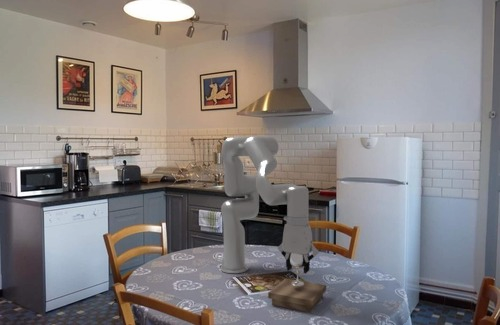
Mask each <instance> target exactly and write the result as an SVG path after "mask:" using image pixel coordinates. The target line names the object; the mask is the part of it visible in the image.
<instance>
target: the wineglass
mask: <svg viewBox="0 0 500 325" xmlns="http://www.w3.org/2000/svg"><path fill="white" fill-rule="evenodd" d="M304 262H305V259H304V256H303V255H301V254H293V253H290V264H291V266H292V268H294V269H296V271H295V272H296V280H297V281H294V282H292V283H291V284H292V285H295V286H302V285H304V283H303V282H300V281H301V280H299V273H300V269H302V268H304Z"/></svg>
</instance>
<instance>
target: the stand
mask: <svg viewBox="0 0 500 325" xmlns="http://www.w3.org/2000/svg"><path fill="white" fill-rule="evenodd" d="M294 281H297V279H293V278H292V279H291V278H284V279H283V280H282V281H281V282H280V283H278V284H277V285H275V286H273V288H272V289H271V290H270V291H268V292H267V294H268V296H267V299H269V300H270V299H271V305H272V306H276V307H278V306H279V307H281V308H282V307H283V308H288V309H293V310H297V311H302V312H308V313H312V311H313V310H314V309H315V307H316V306H317V305H318V304H319V303H320V301H322V299H323V296H324V294H325V292H326V291H327V285H326V284H321V283H316V282H309V281H303V280H299V281H300V282H303V283H304V285H302V286H295V285H292V284H291V283H292V282H294Z"/></svg>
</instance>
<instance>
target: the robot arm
mask: <svg viewBox="0 0 500 325" xmlns="http://www.w3.org/2000/svg"><path fill="white" fill-rule="evenodd" d="M279 147H280V146H279V143H278V141H277V139H276V138H275V137H273V136H272V135H271V136H269V135H268V136H267V135H261V136H260V135H254V136H231V137H228V138H225V139H224V140H223V143H222V145H221V155H222V161H223V167H224V168H223V169H224V172H223V173H224V175H223V176H224V178H223V179H224V184H223V187H224V192H225V194H226V195H227V196H228V197H244V198H233V199H227V200H225V201H224V202H223V203H222V205H221V207H220V212H221V213H220V214H221V217H222V223H223V224H222V225H223V228H222V229H223V257H218V258H217V260H216V263H217V264H221V266H220V271H221V272H223V273H227V274H241V273H245V272H247V271H248V270H249V265H248V264H247V263H246V232H245V227H244V225H243V223H241V221H243V220H244V221H245V220H251V219H254V218H257V216H258V214H259V211H260V210H259V209H260V197H261V199H262V201H263V202H264V203H265V204H266V205H268V206H279V205H281V206H282V205H286V206H287V207H286V208H287V209H286V215H285V216H283V220H284V221H286V223H285V224H284V227H283V235H282V242H281V244H280V245H278V247H277V250H278V251H279V252H280V253H281V255H282V256H283V257H284V260H285V268H286V271H287V272H289V271H291V270H292V269H293V267H292V266H291V264H290V253H293V254H301V255H303V256H304V259H305V262H304V267H303V273H304V274H307V273H308V272H309V271H310V270H311V269H310V268H311V266H310V261H311V260H313V258H315V257H316V256H317V255H319V253H320V252H319V249H317V248H316V246H315V245H314V244H313V232H312V229H311V224H309V199H310V198H309V197H310V196H309V194H310V193H309V189H308V187H307V186H305V185H297V184H294V183H276V184H275V183H274V184H272V183H271V182H270V181H269V179H268V175H270V174H272V173H273V172H274V171H275V169H276V168H277V166H278V161H277V159H276V158H275V156H276V155H277V154H278V152H279ZM240 157H249V159H250V161H251V162H252V164H253V166H254V168H255V169H256V174H255V175H253V174H250V173H249V174H247V173H246V174H244V165H243V164H244V163H243V161H242V160H241V158H240ZM311 252H312V253H311Z"/></svg>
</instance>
